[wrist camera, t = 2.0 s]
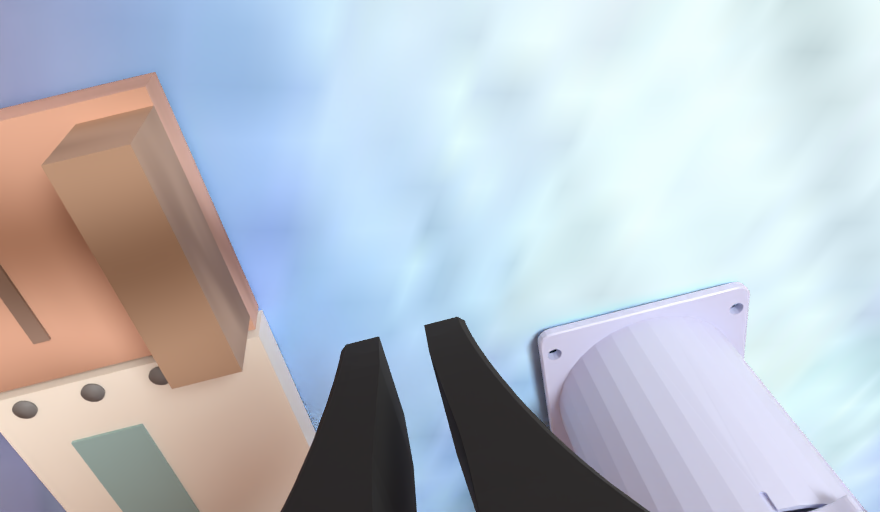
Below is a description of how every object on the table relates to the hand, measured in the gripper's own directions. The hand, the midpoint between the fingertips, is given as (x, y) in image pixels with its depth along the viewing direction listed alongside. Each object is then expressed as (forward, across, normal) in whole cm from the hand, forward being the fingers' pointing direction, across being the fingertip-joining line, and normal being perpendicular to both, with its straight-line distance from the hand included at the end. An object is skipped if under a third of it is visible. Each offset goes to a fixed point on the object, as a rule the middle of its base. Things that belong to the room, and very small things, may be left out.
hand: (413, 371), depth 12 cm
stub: (+9, +10, 0) cm, 13 cm away
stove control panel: (+9, +10, +10) cm, 17 cm away
